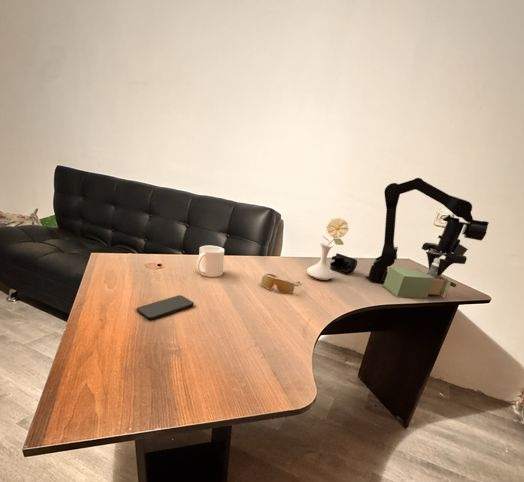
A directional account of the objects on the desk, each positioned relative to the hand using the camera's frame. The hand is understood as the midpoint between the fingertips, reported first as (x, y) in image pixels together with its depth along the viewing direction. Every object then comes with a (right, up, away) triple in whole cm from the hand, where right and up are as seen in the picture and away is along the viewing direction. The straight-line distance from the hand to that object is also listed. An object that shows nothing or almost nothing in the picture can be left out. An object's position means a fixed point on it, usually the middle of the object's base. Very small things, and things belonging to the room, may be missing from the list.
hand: (434, 273), depth 123 cm
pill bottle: (0, -2, +1) cm, 3 cm away
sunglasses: (-63, -6, -9) cm, 64 cm away
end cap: (-34, +4, +17) cm, 38 cm away
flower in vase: (-45, -1, +4) cm, 46 cm away
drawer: (0, -7, +4) cm, 8 cm away
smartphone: (-98, -16, -36) cm, 105 cm away
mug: (-91, -1, -8) cm, 91 cm away
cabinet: (-11, -7, +2) cm, 14 cm away
